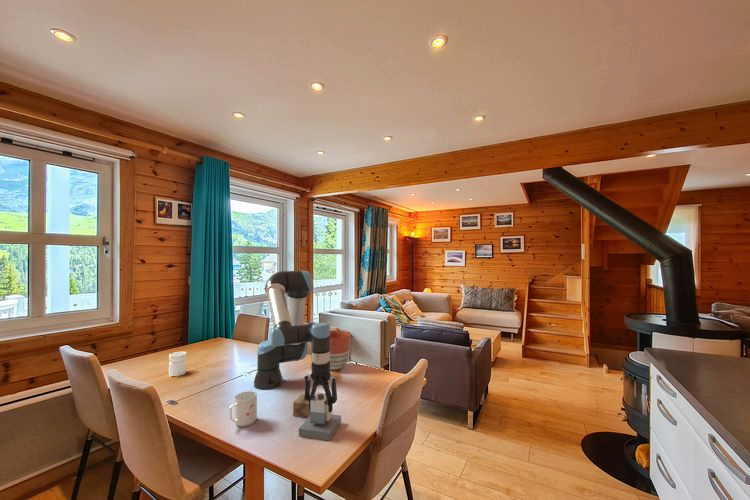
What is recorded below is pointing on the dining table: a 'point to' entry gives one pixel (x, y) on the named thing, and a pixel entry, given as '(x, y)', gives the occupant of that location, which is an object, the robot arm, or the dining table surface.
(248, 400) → the mug
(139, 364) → the dining table surface
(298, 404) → the walnut stand
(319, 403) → the block
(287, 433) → the dining table surface
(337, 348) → the planter
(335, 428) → the slate stand
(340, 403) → the dining table surface
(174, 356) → the white lidded jar
